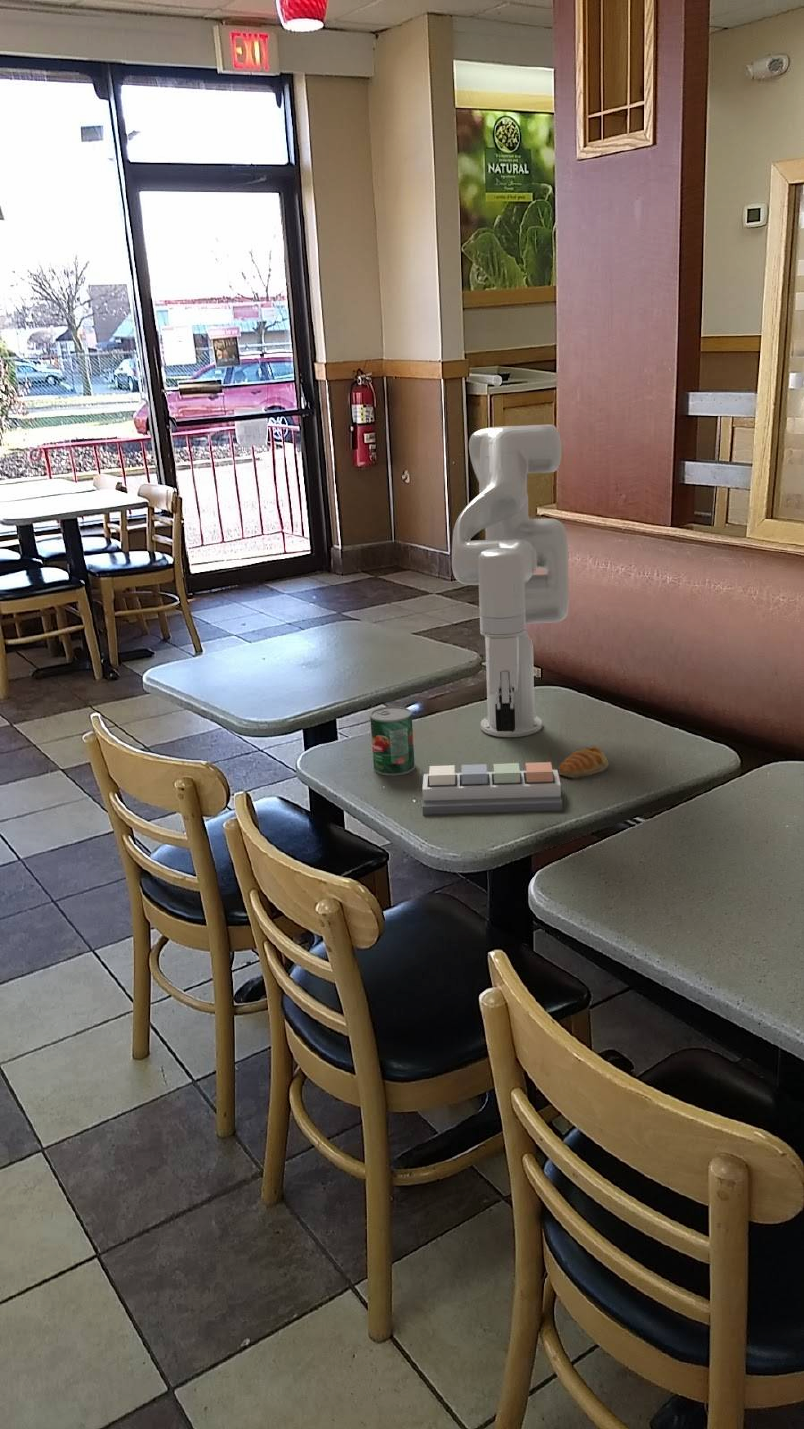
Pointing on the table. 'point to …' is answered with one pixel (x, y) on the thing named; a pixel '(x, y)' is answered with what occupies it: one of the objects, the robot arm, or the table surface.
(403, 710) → the canned tomato
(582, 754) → the pastry
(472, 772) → the slate key
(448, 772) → the ivory key
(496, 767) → the sage key
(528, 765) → the terracotta key
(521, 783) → the keypad
